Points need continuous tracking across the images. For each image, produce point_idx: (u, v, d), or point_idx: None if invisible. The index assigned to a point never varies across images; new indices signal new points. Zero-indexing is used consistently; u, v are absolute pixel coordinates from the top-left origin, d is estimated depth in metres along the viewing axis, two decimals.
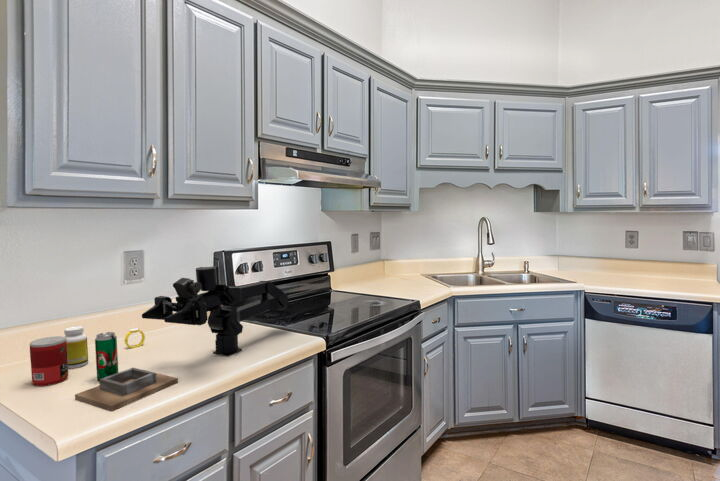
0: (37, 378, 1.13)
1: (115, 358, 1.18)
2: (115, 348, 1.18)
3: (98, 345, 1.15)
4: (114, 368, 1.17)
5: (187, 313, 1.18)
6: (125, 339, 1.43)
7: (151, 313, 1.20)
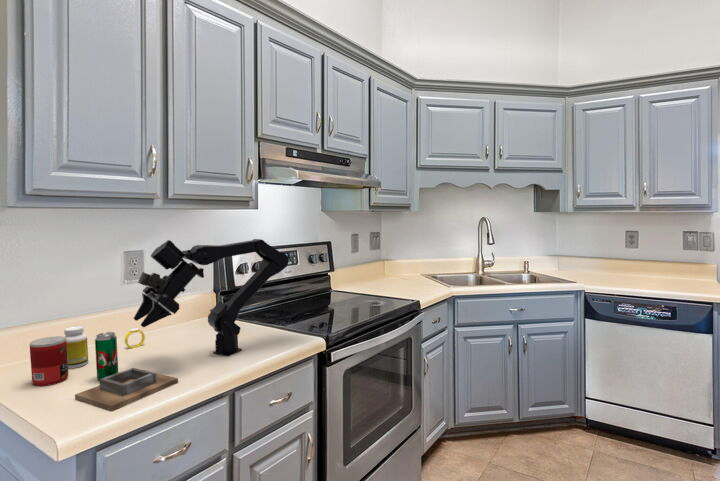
0: (37, 378, 1.13)
1: (115, 358, 1.18)
2: (115, 348, 1.18)
3: (98, 345, 1.15)
4: (114, 368, 1.17)
5: (159, 308, 1.20)
6: (125, 339, 1.43)
7: (141, 312, 1.27)
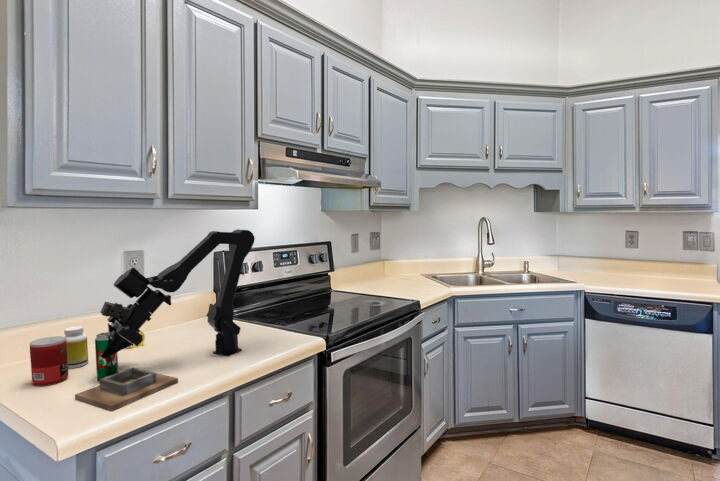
0: (37, 378, 1.13)
1: (115, 358, 1.18)
2: None
3: (98, 345, 1.15)
4: (114, 368, 1.17)
5: (119, 338, 1.16)
6: None
7: None
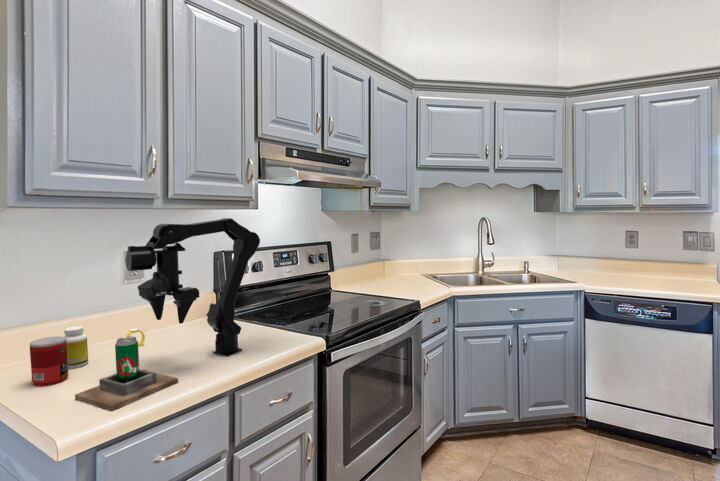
0: (37, 378, 1.13)
1: (138, 363, 1.10)
2: (138, 353, 1.10)
3: (122, 350, 1.06)
4: (138, 374, 1.09)
5: (182, 302, 1.23)
6: None
7: (158, 310, 1.28)
